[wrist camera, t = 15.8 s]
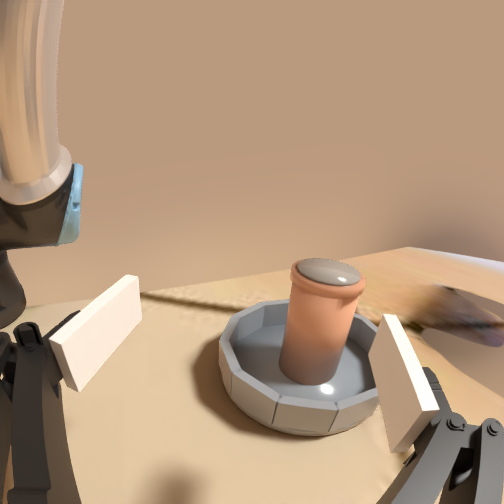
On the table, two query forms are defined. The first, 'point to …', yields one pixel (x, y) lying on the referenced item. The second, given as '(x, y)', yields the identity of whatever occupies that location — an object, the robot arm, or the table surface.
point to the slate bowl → (285, 390)
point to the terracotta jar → (318, 319)
